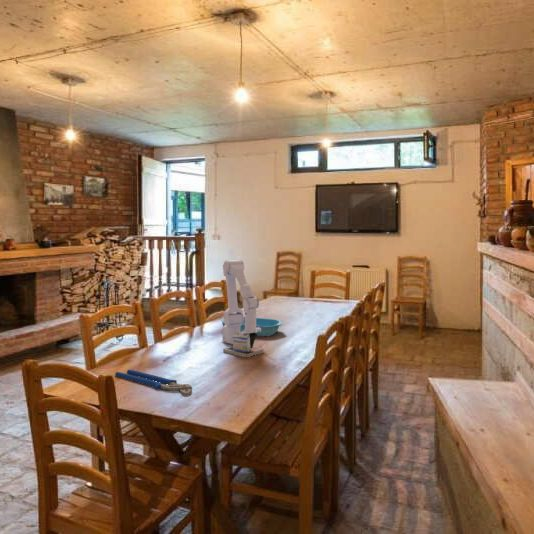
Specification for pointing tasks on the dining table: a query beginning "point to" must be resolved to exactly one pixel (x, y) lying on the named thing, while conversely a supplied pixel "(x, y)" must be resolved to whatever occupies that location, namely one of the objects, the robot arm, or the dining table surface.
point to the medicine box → (241, 343)
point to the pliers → (172, 384)
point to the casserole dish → (263, 326)
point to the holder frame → (229, 350)
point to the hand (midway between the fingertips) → (250, 347)
